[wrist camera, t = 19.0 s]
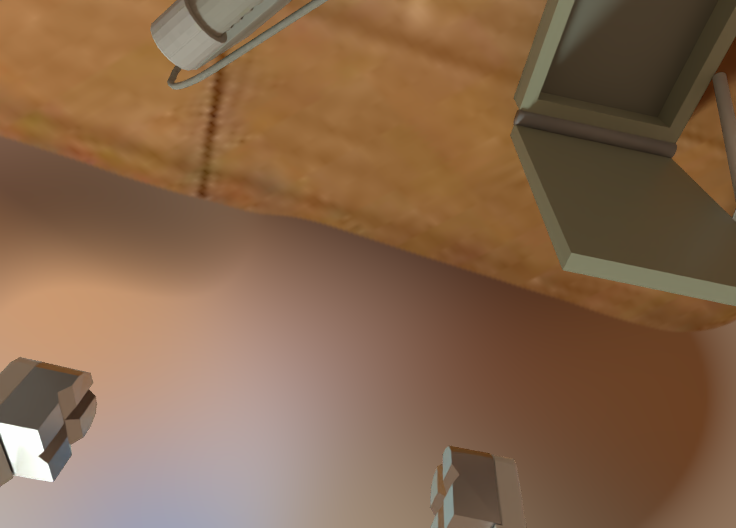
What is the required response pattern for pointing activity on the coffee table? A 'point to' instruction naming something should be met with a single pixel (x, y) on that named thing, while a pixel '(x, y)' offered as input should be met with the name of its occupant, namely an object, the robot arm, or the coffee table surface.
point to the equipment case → (628, 140)
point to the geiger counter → (215, 31)
